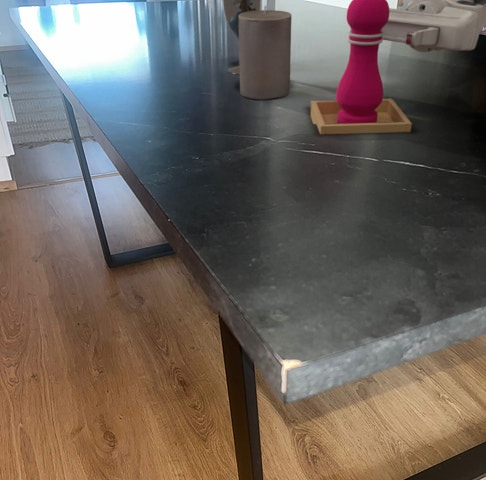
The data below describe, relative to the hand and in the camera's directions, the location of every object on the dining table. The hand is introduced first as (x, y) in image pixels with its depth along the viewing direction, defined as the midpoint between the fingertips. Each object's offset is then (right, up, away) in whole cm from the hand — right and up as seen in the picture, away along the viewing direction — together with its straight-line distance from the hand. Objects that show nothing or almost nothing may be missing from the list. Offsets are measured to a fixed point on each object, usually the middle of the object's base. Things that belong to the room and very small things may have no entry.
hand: (382, 35), depth 80 cm
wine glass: (-21, +10, +37) cm, 44 cm away
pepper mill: (-3, -12, +5) cm, 13 cm away
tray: (-3, -12, +5) cm, 14 cm away
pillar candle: (-17, -1, +23) cm, 28 cm away
